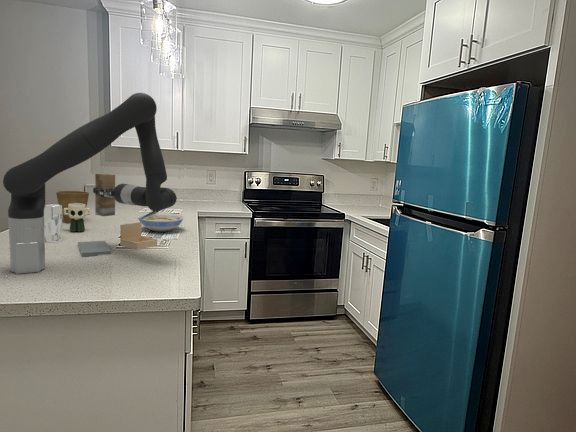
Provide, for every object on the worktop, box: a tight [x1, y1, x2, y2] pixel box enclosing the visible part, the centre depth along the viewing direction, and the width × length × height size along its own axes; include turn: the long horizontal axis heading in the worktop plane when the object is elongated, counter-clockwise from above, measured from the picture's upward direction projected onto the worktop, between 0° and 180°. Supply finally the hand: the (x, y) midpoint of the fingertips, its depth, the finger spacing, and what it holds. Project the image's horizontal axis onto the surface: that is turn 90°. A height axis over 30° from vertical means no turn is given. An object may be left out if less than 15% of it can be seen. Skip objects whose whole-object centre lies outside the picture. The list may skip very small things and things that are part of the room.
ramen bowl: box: [137, 210, 185, 233], centre depth 191 cm, size 25×23×8 cm
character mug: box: [64, 203, 91, 232], centre depth 176 cm, size 11×7×13 cm, turn 115°
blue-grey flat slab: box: [77, 240, 113, 258], centre depth 147 cm, size 18×10×2 cm, turn 33°
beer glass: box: [44, 203, 64, 243], centre depth 156 cm, size 7×7×15 cm
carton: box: [119, 221, 158, 251], centre depth 156 cm, size 13×16×9 cm
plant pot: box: [55, 190, 90, 224], centre depth 196 cm, size 15×15×16 cm
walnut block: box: [94, 173, 116, 217], centre depth 147 cm, size 5×5×16 cm
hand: (100, 190), depth 148 cm, fingers closed on walnut block, 5 cm apart
